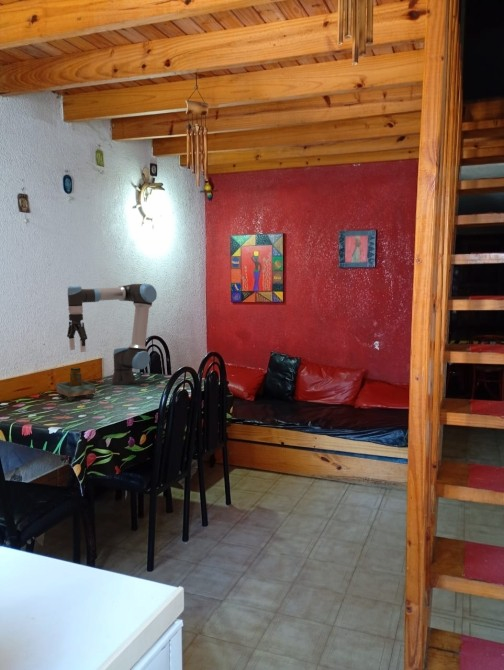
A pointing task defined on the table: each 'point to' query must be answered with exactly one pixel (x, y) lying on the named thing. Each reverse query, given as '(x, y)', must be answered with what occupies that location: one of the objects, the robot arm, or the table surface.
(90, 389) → the shallow square tray
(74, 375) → the condiment
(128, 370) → the robot arm
